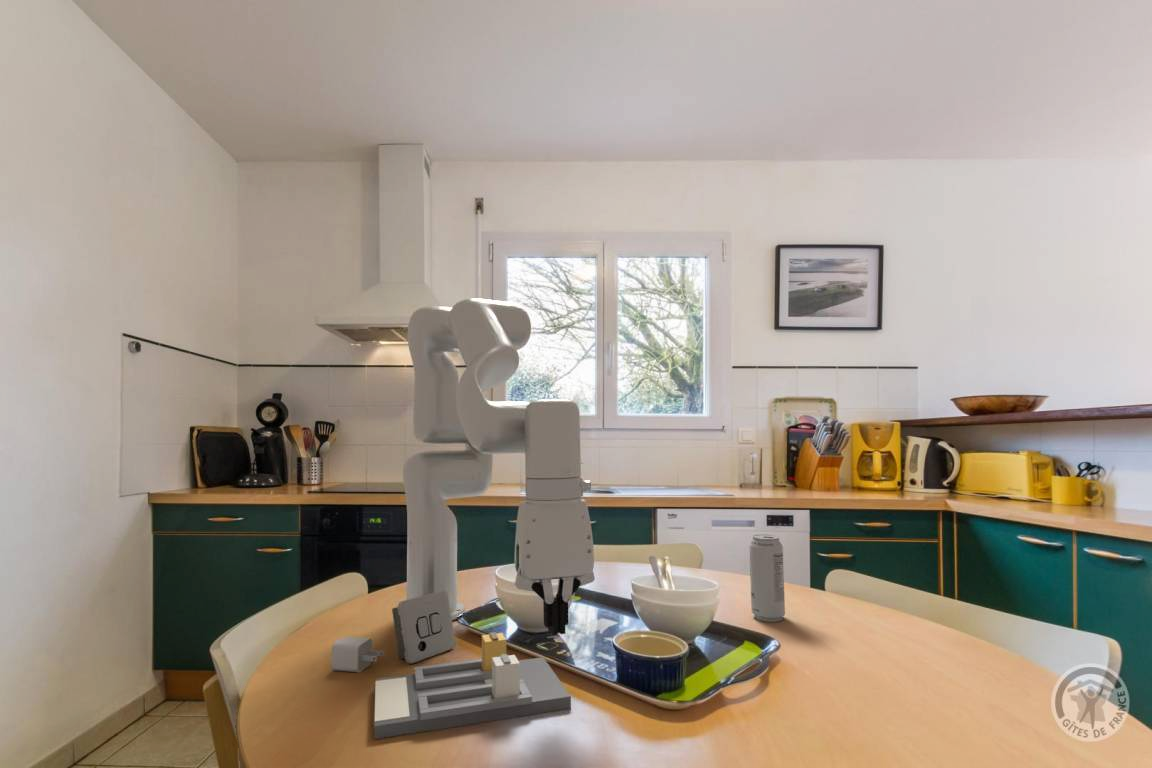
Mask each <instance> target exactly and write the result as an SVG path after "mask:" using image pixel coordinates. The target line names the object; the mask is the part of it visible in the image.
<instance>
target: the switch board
mask: <svg viewBox="0 0 1152 768" xmlns="http://www.w3.org/2000/svg"><path fill="white" fill-rule="evenodd" d="M507 655H508V656H509V654H507ZM517 660H518V661H519V663H520V695H516V696H509V697H502V698H495V699H494V696H493V694H492V670H489V671H483V669H482V658H477V659H469V660H463V661H462V660H461V661H454V662H447V663H446V662H445V663H438V664H430V665H424V666H423V665H422V666H414V673H412V674H411V673H410V674H404V675H403V674H402V675H395V676H388V677H387V676H386V677H381V678H375V690H374V691H375V693H374V696H375V697H374V725H373V726H374V729H373V730H374V731H373V734H374V735H373V736H374V737H373V739H374V740H378V739H377V738H380V739H384V738H383V737H387V738H391V737H390V736H393V737H397V736H396V735H399V736H402V735H401V734H406V735H410V734H409V733H412V734H417V732H418V733H424V732H423V731H425V732H430V730H431V731H436V730H442V729H449V728H450V729H451V728H455V727H463V726H470V725H474V724H480V723H481V724H482V723H487V722H492V721H499V720H505V719H512V718H518V717H525V716H531V715H535V714H536V715H538V714H544V713H549V712H556V711H562V710H568V709H571V708H572V697H571V694H570V693H569V692H568V690H567V689H566V687H565V686H564V685H563V683H562V682H561V680H560V679H559V677H558V676H557V674H556V673H555V672H554V669H552V667H551V666H550V664H549V663H548V662H547V660H546V658H545V657H544V656H543V657H534V658H529V659H528V658H526V659H520V660H519V659H517Z"/></svg>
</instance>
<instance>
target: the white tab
mask: <svg viewBox="0 0 1152 768" xmlns="http://www.w3.org/2000/svg"><path fill="white" fill-rule="evenodd" d="M508 655H509V654H507V653H506V654H502V655H501V657H493V658H492V694H493V696H494V699H495V698H502V697H509V696H516V695H520V663H519V661H518V660H519V659H518V658H517V656H516V655H515V654H511V655H509V656H508Z"/></svg>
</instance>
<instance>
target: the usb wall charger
mask: <svg viewBox="0 0 1152 768" xmlns="http://www.w3.org/2000/svg"><path fill="white" fill-rule="evenodd" d="M378 657H385V651H383V650H375V649H373V638H371V637H370V638H369V637H357V636H356V637H354V636H343V637H342V638H340V639H339V640H337V641H335V642H333V644H332V646H331V663H330V664H331V671H337V672H339V671H340V672H351V673H361V672H362V671H363V670H364V668H365V667H366V668H368V667H369V666H370V665H371V664H372V662H377V661H378ZM374 658H375V659H374ZM369 664H370V665H369ZM368 665H369V666H368ZM366 668H365V669H366ZM362 669H363V670H362ZM361 670H362V671H361Z"/></svg>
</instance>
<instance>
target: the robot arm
mask: <svg viewBox="0 0 1152 768" xmlns="http://www.w3.org/2000/svg"><path fill="white" fill-rule="evenodd" d="M531 333H532V322H531V318H530V316H529V314H528V312H527V311H526V309H525V308H524V307H523V306H521V305H520V304H518V303H516V302H515V303H514V302H510V301H504V300H503V301H502V300H492V299H486V298H485V299H484V298H477V297H476V298H475V297H473V298H466V299H462V300H459V301H457V302H456V303H455V304H454V305H453V306H452V307H451V306H450V307H449V306H442V305H441V306H439V305H438V306H437V305H436V306H435V305H433V306H432V305H431V306H424V307H420V308H417V309H416V310H414V312H413V313H412V314H411V316H410V318H409V321H408V325H407V345H408V350H409V355H410V357H411V362H412V367H413V371H414V385H413V406H412V407H413V410H412V411H413V412H412V414H413V415H412V416H413V418H412V423H413V424H412V426H413V427H412V428H413V429H412V430H413V435H414V437H415V439H416V440H417V441H418V442H421V444H422V443H423V444H429V445H464V447H465V450H463V449H462V450H458V449H456V450H449V449H448V450H447V449H446V450H426V451H419V452H417V453H414V454H412V455H410V456H409V457H408V458H407V459H406V460H405V462H404V464H403V468H402V480H403V486H404V487H403V488H404V493H405V501H406V512H407V513H406V514H407V515H406V516H407V517H406V518H407V520H406V522H407V525H406V526H407V528H406V529H407V533H406V534H407V536H406V537H407V538H406V542H407V546H406V548H407V549H406V553H407V554H406V600H409V599H412V598H416V597H420V596H423V595H427V594H431V593H434V592H438V591H446V592H447V594H448V600H449V606H450V612H451V617H452V621H454V620H456V619H458V618H457V616H459V615H460V614H462V613H464V612H466V606H465V605H464V603H462V602H460V601H457V600H458V591H457V590H458V523H457V518H456V515H455V514H454V512H453V511H452V510H451V508H450V507H449V506H448V504H446V501H445V500H450V499H461V498H472V497H473V498H474V497H478V496H482V495H483V494H485V493H487V492H488V490H489V489H490V485H491V483H492V476H493V458H494V456H493V455H502V454H524V457H525V459H524V465H525V466H524V467H525V468H524V470H525V471H524V472H525V473H524V474H525V475H524V476H525V501H520V502H519V505H518V510H517V517H516V526H515V541H514V569H515V572H516V576H515V582H514V586H515V587H516V588H517V589H518V590H523V591H526V592H535V594H537V596H538V597H540V598H541V599H542V601H543V602H542V603H543V624H544V628H547V631H549V633H551V634H552V636H558V634H560V635H565V634H566V626H567V625H569V622H570V621H569V602H570V601H571V600H572V596H573V595H574V594H575V593H576V591H577V590H578V589H579V588H580V587H582V586H586V585H589V584H592V583H593V582H594V581H595V578H596V577H595V574H594V567H595V552H594V551H595V549H594V539H593V538H594V537H593V531H592V524H591V518H590V513H589V507H588V504H587V500H586V499H582V498H583V497H584V493H585V492H586V491H591V490H592V483H591V481H590V480H585V479H584V478H583V477H582V468H581V462H582V461H581V459H582V458H581V427H580V426H581V419H580V418H581V417H580V415H581V414H580V407H579V405H578V404H577V403H576V402H575V400H571V399H566V398H565V399H563V398H551V399H550V398H547V399H537V400H531V401H522V400H521V401H515V400H514V401H511V400H510V401H509V400H508V401H507V400H489V399H487V397H486V396H485V394H484V392H487V391H488V390H491V389H493V388H496V387H498V386H500V385H502V384H504V383H506V382H507V381H508V380H510V379H511V378H512V377H513V376H514V374H515V373H516V372H517V370H518V368H519V364H520V357H519V356H520V355H519V353H518V350H520V349H522V348H524V347H525V346H526V345H527V344H528V342H529V340H530V339H531V338H530V337H531ZM448 353H459V354H460V355H461V358H462V360H463V361H464V364H465V366H466V368H465V370H464V371H463V373H462V374H461V376H459V371H458V368H457V366H456V365H455V363H454V361H453V360H452V359H451V357H450V356H449V355H448ZM459 377H460V378H459ZM552 580H558V582H557V590H556V594H555V596H554V589H553V584H552ZM464 614H465V613H464Z"/></svg>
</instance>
